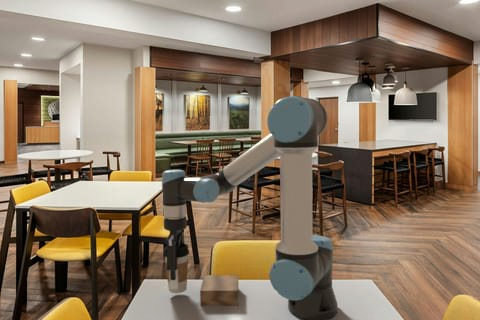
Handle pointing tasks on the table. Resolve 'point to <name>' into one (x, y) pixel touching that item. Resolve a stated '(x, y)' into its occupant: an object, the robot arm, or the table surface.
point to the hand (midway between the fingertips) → (177, 283)
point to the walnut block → (219, 290)
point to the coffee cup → (179, 268)
